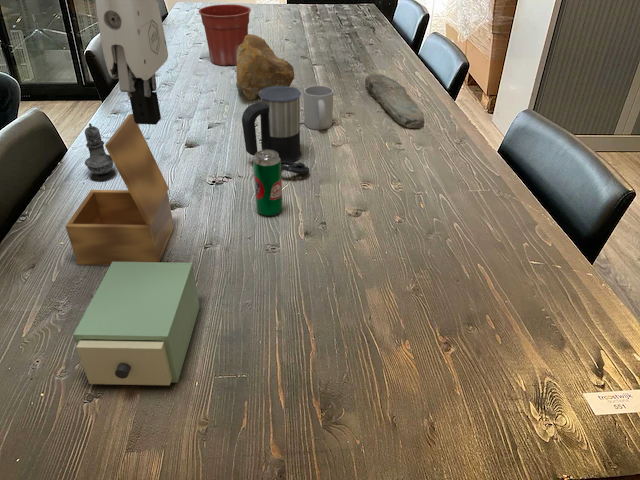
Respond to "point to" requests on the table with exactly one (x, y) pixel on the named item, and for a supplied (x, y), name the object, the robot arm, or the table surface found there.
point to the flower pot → (225, 31)
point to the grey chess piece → (98, 156)
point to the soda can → (268, 182)
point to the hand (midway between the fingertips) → (148, 121)
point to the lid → (138, 168)
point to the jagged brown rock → (260, 67)
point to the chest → (117, 230)
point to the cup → (318, 107)
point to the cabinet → (145, 307)
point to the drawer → (125, 362)
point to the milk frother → (276, 126)
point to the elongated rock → (395, 100)
